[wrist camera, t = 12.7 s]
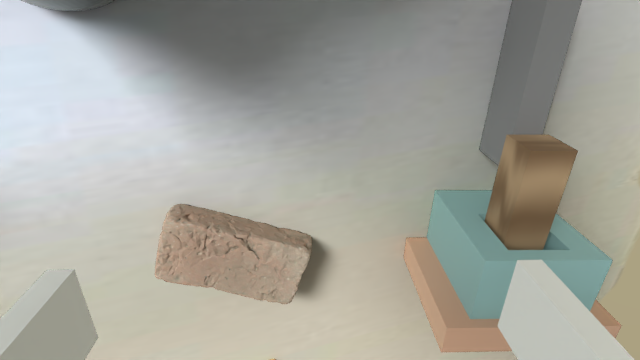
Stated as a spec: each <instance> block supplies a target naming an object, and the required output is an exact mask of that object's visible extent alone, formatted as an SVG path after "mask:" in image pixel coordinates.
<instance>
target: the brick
mask: <svg viewBox="0 0 640 360" xmlns="http://www.w3.org/2000/svg"><path fill="white" fill-rule="evenodd" d="M311 244H312V238H311V236H310V235H307V234H305V233H301V232H299V231H295V230H290V229H285V228H277V227H274V226H271V225H269V224H266V223H260V222H254V221H251V220H249V219H245V218H241V217H237V216H231V215H229V214H225V213H221V212H216V211H213V210H208V209H205V208H198V207H194V206H189V205H184V204H177V205H174V206H173V207H172V208H171V209H170V210H169V212H168V213H167V215H166V219H165V220H164V223H163V227H162V233H161V234H160V239H159V245H158V251H157V258H156V265H155V277H156V278H158V279H163V280H164V281H166V282H171V283H177V284H183V285H193V286H201V287H207V288H208V287H213V288H215V289H217V290H222V291H225V292H229V293H233V294H238V295H241V296H245V297H249V298H254V299H257V300H267V301H268V302H279V303H281V304H288V303H290V302H291V301H292V299H293V297H294V295H295V294H296V292H297V290H298V285H299V283H300V280H301V277H302V275H303V272H304V270H305V269H306V268H307V264H308V262H309V259H310V257H311V251H312V245H311Z"/></svg>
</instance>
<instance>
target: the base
mask: <svg viewBox="0 0 640 360" xmlns="http://www.w3.org/2000/svg"><path fill="white" fill-rule="evenodd" d="M404 260H405V262H406V265H407V267H408V270H409V272H410V275H411V277H412V280H413V282H414V285H415V287H416V290H417V293H418V295H419V298H420V300H421V303H422V305H423V308H424V310H425V313H426V315H427V318H428V320H429V323H430V325H431V328H432V330H433V333H434V335H435V338H436V340H437V343H438V345H439V348H440V350H441V352H488V351H512V349H511V348H510V346H509V344H508V343H507V341H506V339H505V338H504V336H503V334H502V333H501V331H500V329H499V328H498V322H499V319H470V318H469V316H468V314H467V312H466V310H465V309H464V307H463V305H462V303H461V301H460V299H459V297H458V295H457V294H456V292H455V290H454V288H453V286H452V284H451V282H450V280H449V278H448V277H447V275H446V273H445V271H444V269H443V267H442V265H441V263H440V262H439V260H438V258H437V256H436V254H435V252H434V250H433V248H432V246H431V245H430V243H429V241H428V239H427V238H406V245H405V252H404ZM590 312H591V313H592V314H593V315H594V316H595V318H596V319H597V320H598V321H599V322H600V323H601V324H602V325H603V326H604V327H605V328H606V329H607V330H608V332H609V333H610V334H611V335H612V336H613V337H614V338H616V336H617V334H618V332H619V330H620V328H621V324H620V323H619V322H618V321H616V320H615V318H614V317H613V316H611V314H610V313H609V312H607V310H606V309H605V308H603V306H602V305H601V304H600V303H599V302H598V301H597V300H596V299H595V301H594V304H593V306H592V308H591V310H590Z"/></svg>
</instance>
